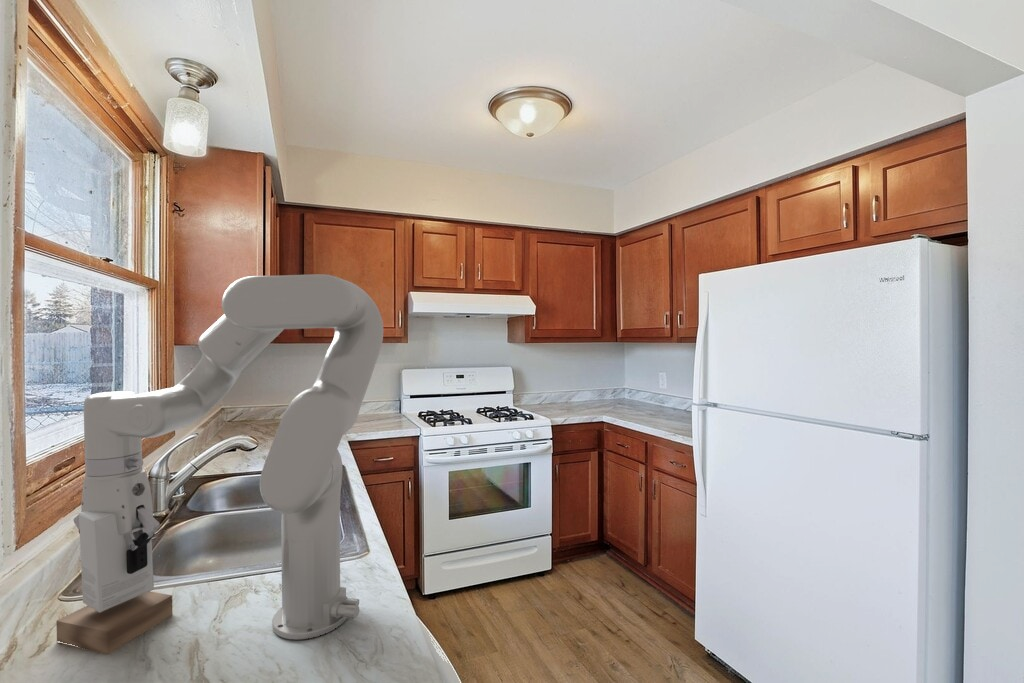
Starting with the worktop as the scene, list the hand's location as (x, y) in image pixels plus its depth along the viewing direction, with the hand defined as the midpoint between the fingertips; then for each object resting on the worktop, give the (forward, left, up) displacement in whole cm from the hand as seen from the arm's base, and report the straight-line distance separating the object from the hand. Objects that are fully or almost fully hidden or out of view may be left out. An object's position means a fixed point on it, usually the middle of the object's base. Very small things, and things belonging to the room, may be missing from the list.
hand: (117, 567), depth 84 cm
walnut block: (0, 0, -11) cm, 11 cm away
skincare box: (0, 0, -5) cm, 5 cm away
